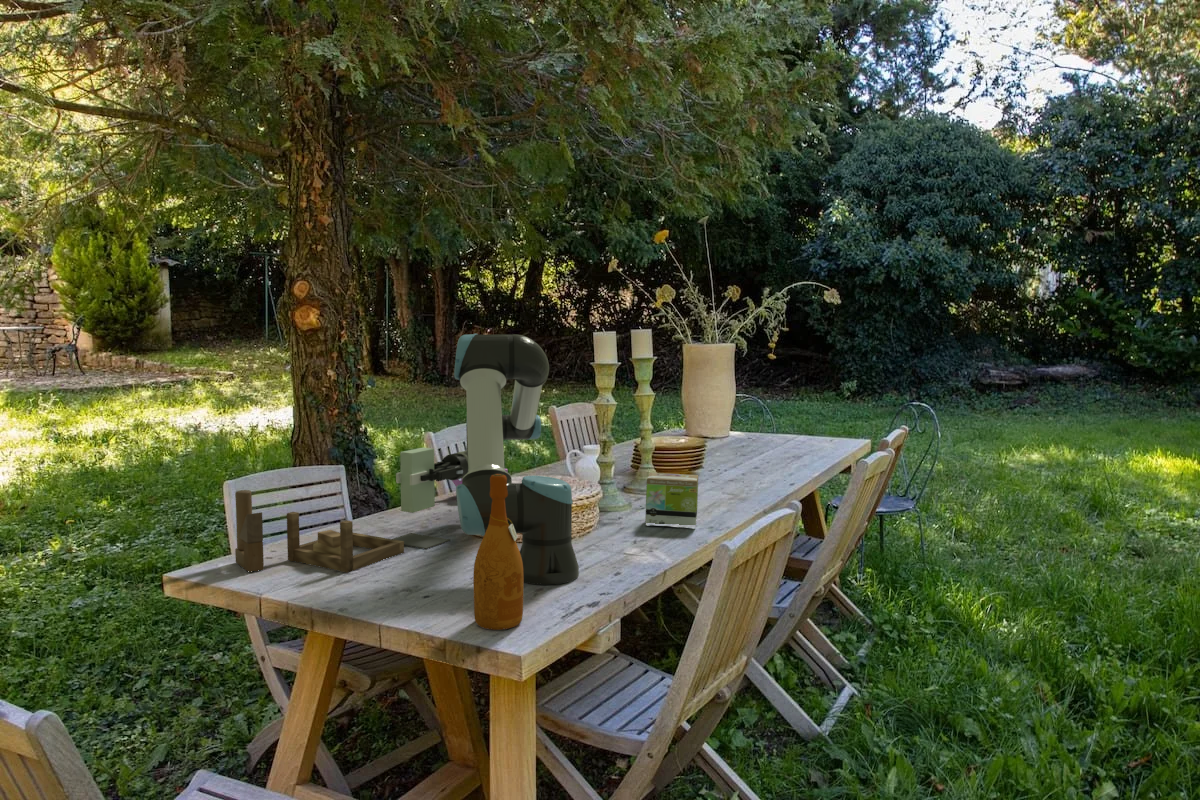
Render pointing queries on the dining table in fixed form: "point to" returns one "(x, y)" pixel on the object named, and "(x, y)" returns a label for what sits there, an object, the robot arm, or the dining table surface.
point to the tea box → (671, 499)
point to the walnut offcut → (329, 538)
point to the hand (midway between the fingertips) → (404, 479)
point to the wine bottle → (498, 567)
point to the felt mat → (420, 540)
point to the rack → (348, 539)
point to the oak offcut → (327, 549)
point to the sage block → (423, 492)
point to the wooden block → (248, 533)
